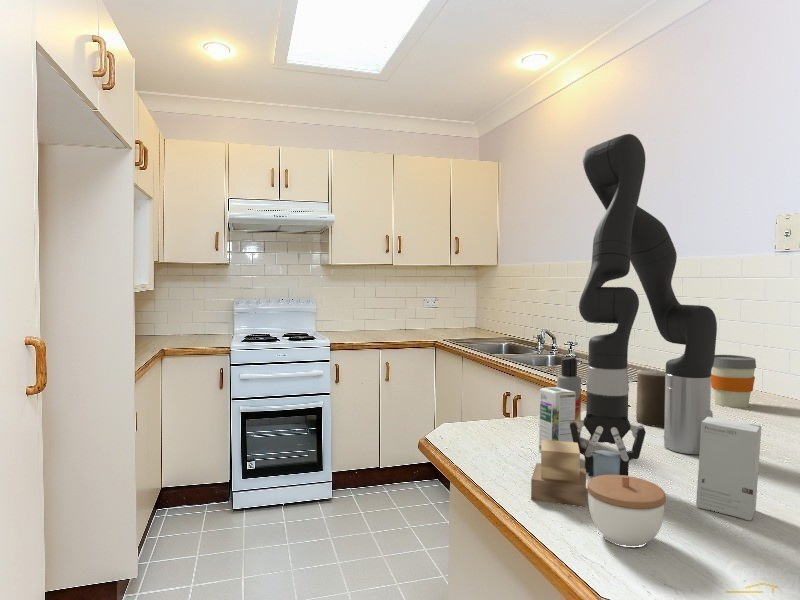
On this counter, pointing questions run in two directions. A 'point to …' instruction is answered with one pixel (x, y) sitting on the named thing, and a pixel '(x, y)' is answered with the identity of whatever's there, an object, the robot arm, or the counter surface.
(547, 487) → the walnut slab
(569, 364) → the lotion bottle
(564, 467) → the oak block
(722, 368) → the reusable coffee cup
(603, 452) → the blue rounded cylinder
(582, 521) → the counter surface
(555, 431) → the syrup box
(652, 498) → the lidded jar
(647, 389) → the pillar candle
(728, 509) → the skincare box
